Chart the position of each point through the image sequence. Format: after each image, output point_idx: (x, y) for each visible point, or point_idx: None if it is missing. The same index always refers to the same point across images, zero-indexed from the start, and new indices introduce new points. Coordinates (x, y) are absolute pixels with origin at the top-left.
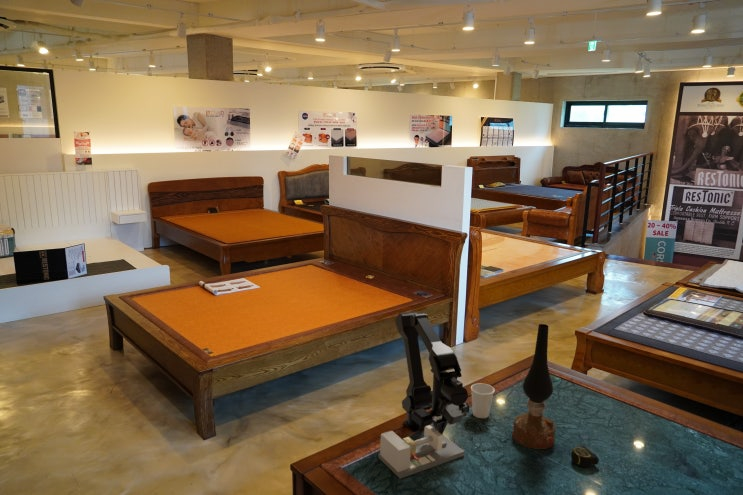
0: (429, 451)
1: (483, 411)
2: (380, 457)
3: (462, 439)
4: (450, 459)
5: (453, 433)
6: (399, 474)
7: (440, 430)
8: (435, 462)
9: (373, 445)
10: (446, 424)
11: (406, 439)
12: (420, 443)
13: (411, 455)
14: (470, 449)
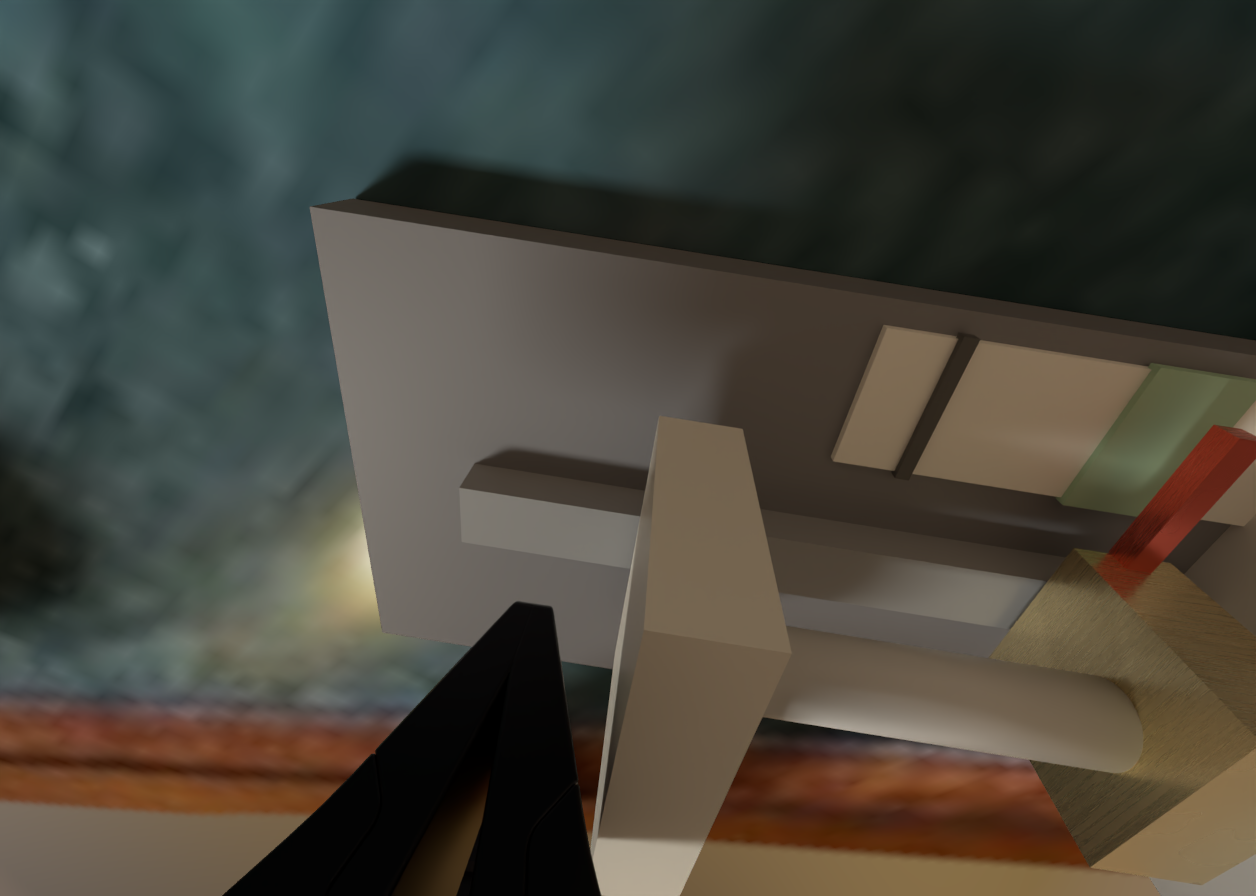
0: None
1: None
2: None
3: (200, 452)
4: (607, 241)
5: (247, 562)
6: None
7: (534, 734)
8: (903, 295)
9: (968, 794)
10: (304, 845)
11: (1208, 857)
12: (980, 671)
13: (1159, 571)
14: (191, 253)
